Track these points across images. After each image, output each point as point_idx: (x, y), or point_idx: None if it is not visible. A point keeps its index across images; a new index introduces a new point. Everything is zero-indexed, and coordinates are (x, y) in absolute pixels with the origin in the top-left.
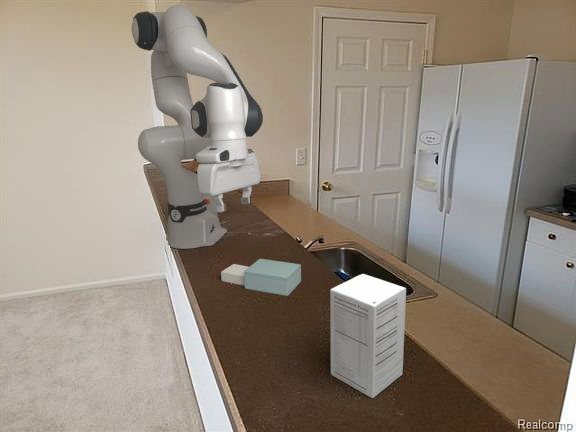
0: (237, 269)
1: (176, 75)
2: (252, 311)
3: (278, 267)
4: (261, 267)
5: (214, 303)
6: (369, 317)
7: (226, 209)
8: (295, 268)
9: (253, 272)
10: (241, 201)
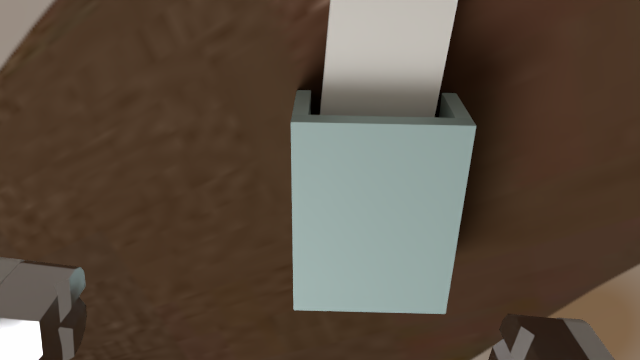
0: (395, 12)
1: None
2: (142, 198)
3: (386, 247)
4: (363, 180)
5: (117, 33)
6: None
7: (78, 347)
8: (397, 308)
9: (294, 170)
10: (521, 338)
